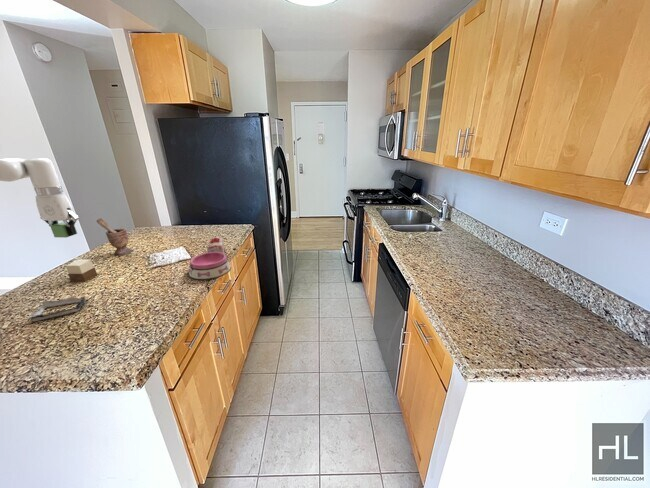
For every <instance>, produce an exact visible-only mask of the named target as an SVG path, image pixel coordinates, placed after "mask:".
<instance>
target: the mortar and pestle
mask: <svg viewBox="0 0 650 488" xmlns="http://www.w3.org/2000/svg"><path fill="white" fill-rule="evenodd" d="M96 223H97V224H98V225H99V226H100V227H102V228H104V229H105V230H107V231H106V232H105V235H106V237H107V240H108V242H109V244H110V245H111V246H112V247H114V248H116V249H115V251H114V255H115V256H118V257H119V256H124V255H125V256H126V255H129V254H130V253H132V250H131V248H129V247H128V246H127V245H128V243H129V235H128V233H127V229H126V228H112V227H111V226H110V225H109V224H108V223H107V222H106V220H104V219H103V218H98V219H97V220H96Z"/></svg>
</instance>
